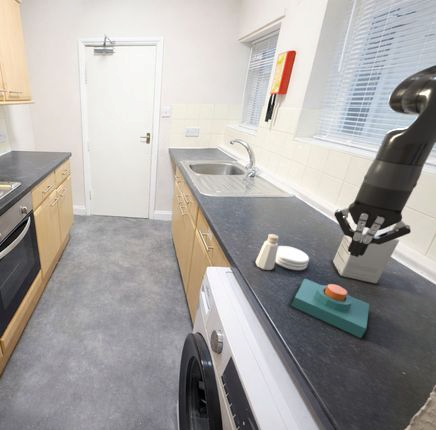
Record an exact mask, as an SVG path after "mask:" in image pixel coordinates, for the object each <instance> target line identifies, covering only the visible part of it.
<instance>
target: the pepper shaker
mask: <svg viewBox="0 0 436 430" xmlns="http://www.w3.org/2000/svg"><path fill="white" fill-rule="evenodd" d="M278 241H279V236H278V235H277V234H275V233H269V234H268V237H267V240H264V242H263V243H262V246H261V249H260V251H259V253H258V255H257V256H256V259H255V265H256V267H258V268H260V269H262V270H267V271H271V270H273V269H275V265H276V263H275V260H276V255H277V249H278V246H279V243H278Z"/></svg>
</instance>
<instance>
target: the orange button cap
mask: <svg viewBox="0 0 436 430" xmlns="http://www.w3.org/2000/svg"><path fill="white" fill-rule="evenodd" d="M326 285H327V287H326V290H325V294H326V295H327V296H329V297H330V298H332V299H335V300H338V301H343V300H344V299H345V297H346V295H347V294H348V291H347V289H345V288H344V287H342V286H340V285H338V284H334V283H328V284H326Z"/></svg>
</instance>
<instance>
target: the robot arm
mask: <svg viewBox="0 0 436 430" xmlns="http://www.w3.org/2000/svg"><path fill="white" fill-rule="evenodd" d="M388 107H389V108H390V110H392V112H395V113H396V114H400V115H404V116H416V118H415V119H414V120H413V122H412V123H411V124H409V125H408V126H407V127H404V128H396V129H392V130H389V131H388V132H387V133H386V134H384V136H383V138H382V140H381V143H380V146H379V148H378V150H377V152H376V155H375V157H374V159H373V161H372V162H371V164H370V165H369V167H368V169H367V170H366V174H365V175H364V177H363V180H362V183H361V185H360V187H359V190H358V192H357V195H356V196H355V198H354V201H353V202H352V203H351V204H349V206H348V207H346V208H342V209H340V208H338V209H336V210H335V212H334V218H335V219H336V221H337V223H338V225H339V227H340V228H341V229H340V230H341V231H342V233H343V236H344V235H346V236H349V237H351V238H352V241H351V243H350V245H349V248H348V252H351V253H350V255H352V256H355V257H358V256H359V255H360V256H362V255H364V253H365V251H366V249H367V247H368V245H369V244H378V245H380V244H383V243H385V242H388V241H391V240H393V239H396V238H397V239H399V238H401V237H404V236H406V235H410V234H411V233H412V232H411V231H412V229H411V226H410V225H408V224H407V223H405V222H404V221H403V215H402V214H403V213H402V212H403V211H404V208H405V206H406V204H407V202H408V201H409V199H410V197H411V195H412V193H413V191H414V189H415V188H416V187H417V185H418V181H419V179H420V177H421V175H422V172H423V168H424V166H425V164H426V162H427V161H428V158H429V156H430V154H431V152H432V151H433V149H434V146H435V145H436V64H435V65H432V66H430V67H427V68H424V69H422V70H419V71H417V72H414V73H413V74H411V75H409V76H407V77H406V78H404V79H403V80H402V81H400V82H399V83H398V84H397V85H396V86H395V87H394V89H393V90H392V91H391V93H390V95H389V97H388ZM349 216H350V217H351V219H352V222H353V223H355V224H356V225H357V227H356V230H355V231H354V230H352V228H351V227H350V225H349V223H350V222H349V221H348V218H349ZM364 227H366V228H368V230H367V232H366V234H365V235H364V237H363V240H362V239H361V235H362V233H363V230H364ZM389 227H392V229H391V230H389V231H388V232H385V233H383V234H380V235H378V236H375V234H376V233H377V231H378V230H382V229H385V228H386V229H388V228H389Z"/></svg>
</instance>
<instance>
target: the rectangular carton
mask: <svg viewBox="0 0 436 430" xmlns="http://www.w3.org/2000/svg"><path fill="white" fill-rule="evenodd" d="M348 223H349V225H350V227H351V228H352V230H354V231H355V230H356V227H357V225H356V224H355V223H354V221H350V222H348ZM367 230H368V228H366V227H364V230H363V233H362V235H361V239H362V240H363V237H364V235H365V234H366V232H367ZM388 231H390V230H389V229H388V228H385V229H382V230H378V231H377V233H376V234H375V236H378V235H380V234H383V233H385V232H388ZM351 241H352V238H351V237H349V236H346V235H344V234H343V237H342V240H341V242H340V245H339V246H338V249H337V251H336V254H335V256H334V258H333V260H332V262H333V264H334V266H335V268H336V270H337V272H338V274H339V276H341V277H344V278H349V279H354V280H358V281H363V282H366V283H367V282H368V283H371V284H378V281H379V280H380V278H381V276H382V274H383V272H384V271H385V268H386V267H387V264H388V263H389V261H390V259H391V257H392V255H393V253H394V251H395V249H396V247H397V246H398V244H399V242H400V239H399V238H396V239H393V240H391V241H388V242H385V243H383V244H380V245H378V244H369V245H368V247H367V249H366V251H365V253H364V255H362V256H360V255H359V256H358V257H355V256H352V255H350V253H351V252H348V248H349V245H350V243H351Z"/></svg>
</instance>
